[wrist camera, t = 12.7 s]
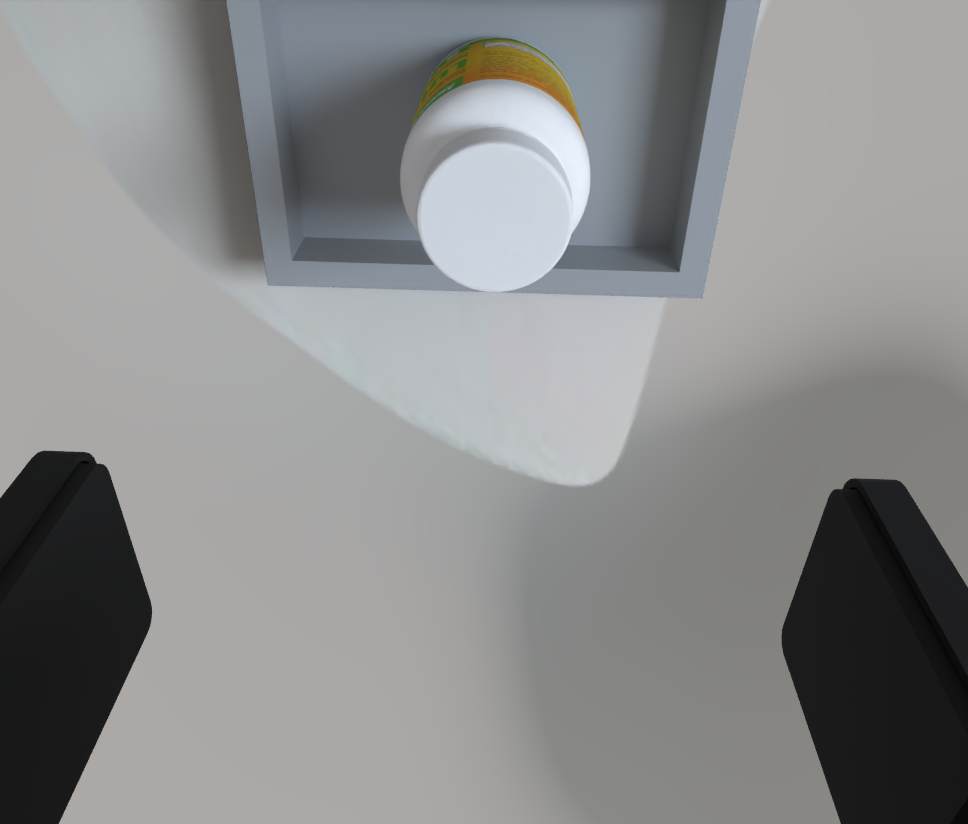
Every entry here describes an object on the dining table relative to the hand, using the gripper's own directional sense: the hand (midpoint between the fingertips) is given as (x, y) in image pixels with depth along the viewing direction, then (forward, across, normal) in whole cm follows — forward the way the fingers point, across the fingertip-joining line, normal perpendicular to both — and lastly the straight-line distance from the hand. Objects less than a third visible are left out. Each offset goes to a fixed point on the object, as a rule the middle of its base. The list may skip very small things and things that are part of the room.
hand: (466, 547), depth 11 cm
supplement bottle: (+21, 0, 0) cm, 21 cm away
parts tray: (+22, 0, 0) cm, 22 cm away
